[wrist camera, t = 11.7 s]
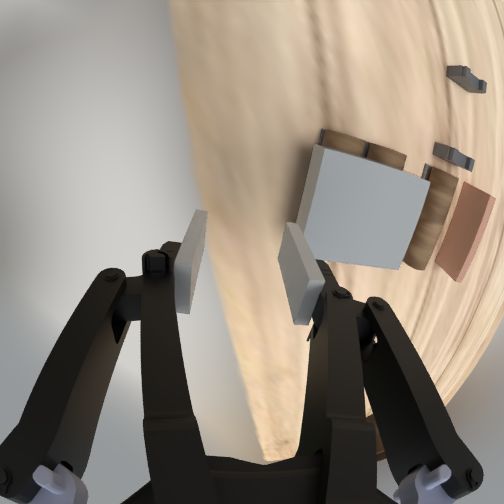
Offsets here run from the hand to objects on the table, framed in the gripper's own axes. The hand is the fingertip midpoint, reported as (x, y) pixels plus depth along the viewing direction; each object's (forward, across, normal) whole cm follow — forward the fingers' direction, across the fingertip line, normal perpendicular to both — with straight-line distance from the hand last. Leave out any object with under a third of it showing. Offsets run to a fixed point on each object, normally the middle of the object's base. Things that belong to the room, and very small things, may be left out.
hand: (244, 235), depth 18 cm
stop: (+19, +38, 0) cm, 43 cm away
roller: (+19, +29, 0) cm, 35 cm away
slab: (+13, +14, 0) cm, 19 cm away
